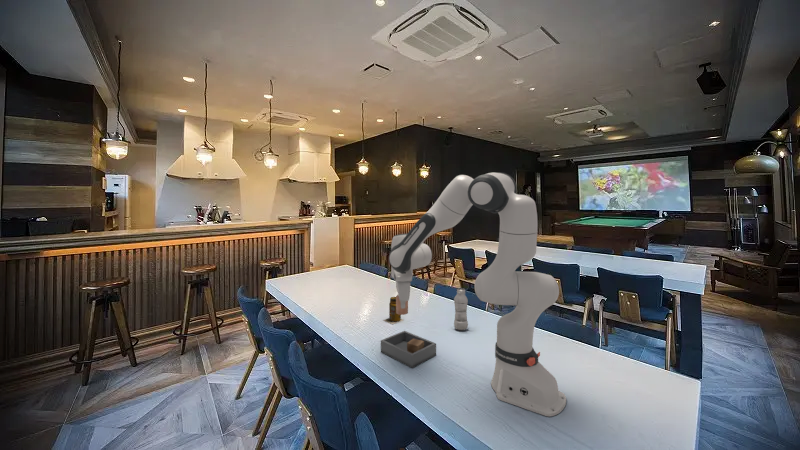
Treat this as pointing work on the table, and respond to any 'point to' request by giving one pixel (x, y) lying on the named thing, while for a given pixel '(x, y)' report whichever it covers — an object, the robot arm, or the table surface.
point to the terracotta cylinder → (398, 307)
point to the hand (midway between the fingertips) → (402, 305)
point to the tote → (398, 349)
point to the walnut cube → (415, 345)
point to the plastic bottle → (460, 310)
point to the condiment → (393, 312)
